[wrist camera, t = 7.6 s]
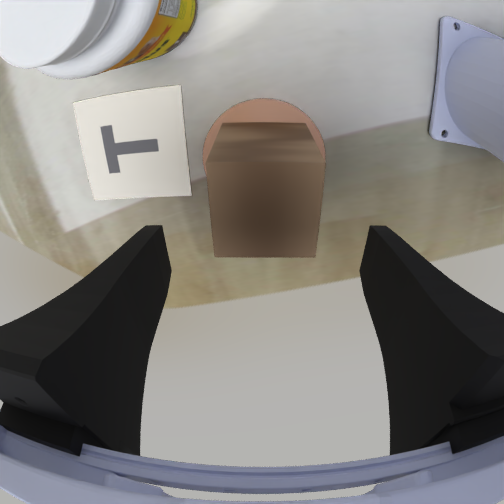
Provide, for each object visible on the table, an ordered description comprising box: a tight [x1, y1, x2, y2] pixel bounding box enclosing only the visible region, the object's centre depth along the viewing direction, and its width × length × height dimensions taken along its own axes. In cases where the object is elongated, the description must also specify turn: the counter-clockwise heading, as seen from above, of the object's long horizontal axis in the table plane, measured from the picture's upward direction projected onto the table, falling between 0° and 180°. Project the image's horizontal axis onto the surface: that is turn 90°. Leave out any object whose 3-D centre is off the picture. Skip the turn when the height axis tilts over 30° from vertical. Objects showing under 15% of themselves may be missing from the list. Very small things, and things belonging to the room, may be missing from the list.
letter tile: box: [73, 85, 192, 201], centre depth 18 cm, size 7×7×1 cm
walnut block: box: [206, 122, 326, 257], centre depth 15 cm, size 4×4×6 cm
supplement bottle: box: [0, 0, 197, 79], centre depth 9 cm, size 6×6×10 cm
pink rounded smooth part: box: [203, 98, 325, 176], centre depth 18 cm, size 7×7×1 cm
